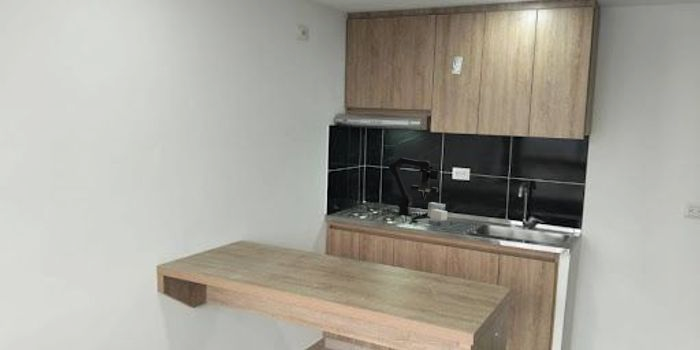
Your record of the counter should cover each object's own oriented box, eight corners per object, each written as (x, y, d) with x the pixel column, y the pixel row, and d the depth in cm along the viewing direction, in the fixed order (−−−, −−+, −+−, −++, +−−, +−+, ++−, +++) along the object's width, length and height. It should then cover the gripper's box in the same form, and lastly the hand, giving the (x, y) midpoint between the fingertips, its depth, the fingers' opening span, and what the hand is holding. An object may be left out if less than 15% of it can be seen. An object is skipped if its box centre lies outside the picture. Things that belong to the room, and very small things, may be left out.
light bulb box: (444, 218, 388) (445, 204, 387) (440, 220, 382) (441, 205, 381) (430, 216, 394) (432, 201, 392) (426, 217, 388) (428, 202, 387)
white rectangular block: (430, 222, 365) (431, 209, 364) (436, 221, 369) (437, 208, 368) (440, 225, 359) (441, 212, 358) (446, 224, 362) (447, 211, 361)
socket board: (414, 221, 371) (414, 214, 371) (427, 219, 380) (428, 213, 380) (438, 228, 355) (439, 221, 354) (452, 226, 364) (452, 219, 363)
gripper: (409, 178, 373) (407, 200, 375) (436, 181, 367) (434, 204, 369) (413, 176, 384) (411, 198, 386) (439, 179, 378) (437, 201, 379)
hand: (423, 200), depth 380 cm, fingers closed
